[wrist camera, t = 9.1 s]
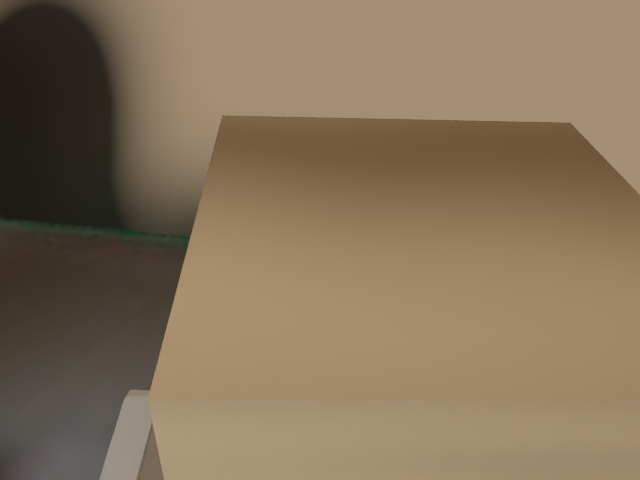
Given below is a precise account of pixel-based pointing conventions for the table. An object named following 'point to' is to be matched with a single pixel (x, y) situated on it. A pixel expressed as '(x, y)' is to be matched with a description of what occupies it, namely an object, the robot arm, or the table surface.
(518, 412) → the block
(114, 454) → the robot arm
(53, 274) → the table surface
